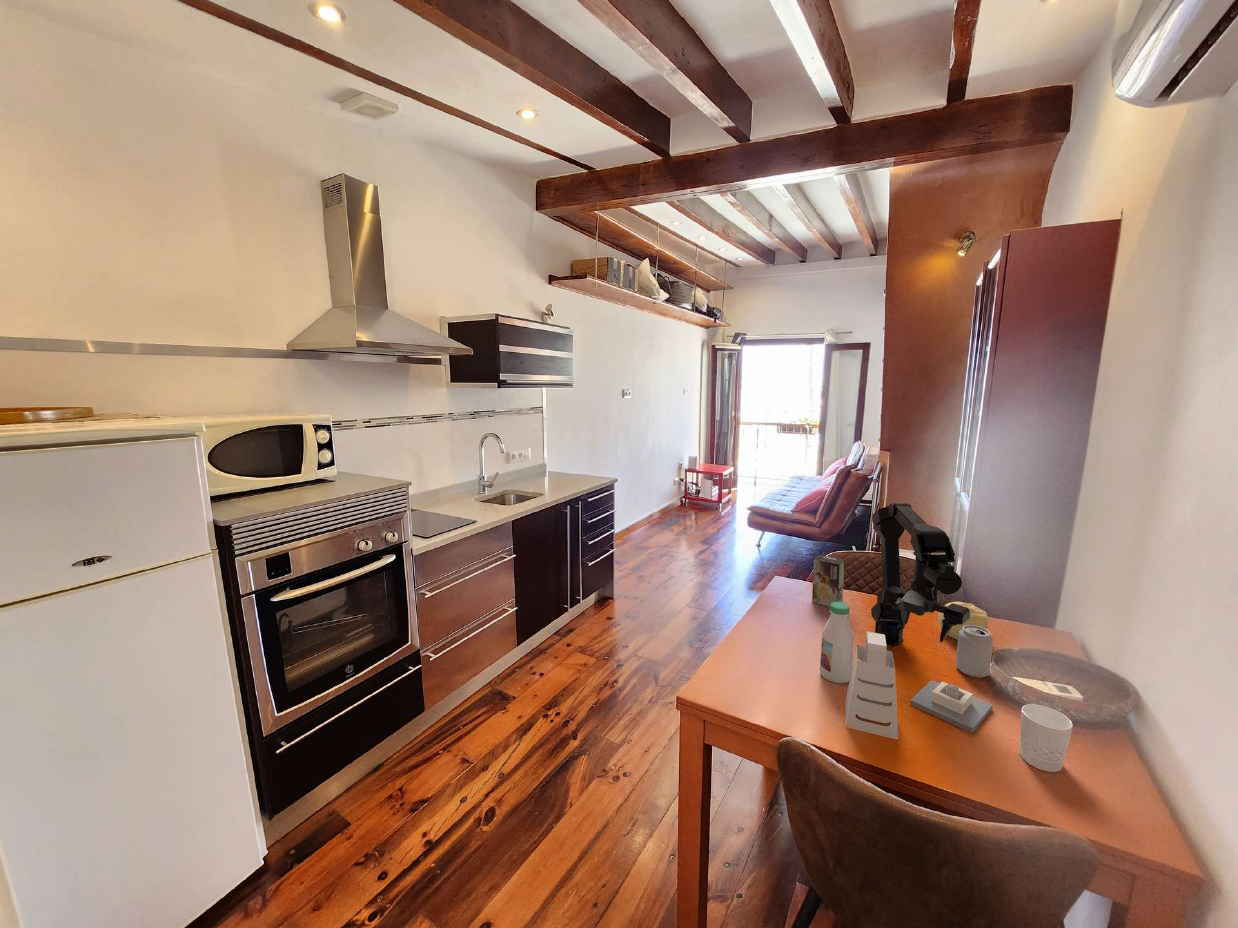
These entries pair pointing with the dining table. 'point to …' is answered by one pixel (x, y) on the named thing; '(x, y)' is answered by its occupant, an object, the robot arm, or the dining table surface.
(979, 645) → the can
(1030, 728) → the white cup
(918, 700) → the post stand
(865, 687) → the grater
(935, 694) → the white square frame
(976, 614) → the sculpture
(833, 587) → the coffee box
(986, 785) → the dining table surface
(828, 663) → the milk bottle
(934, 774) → the dining table surface
